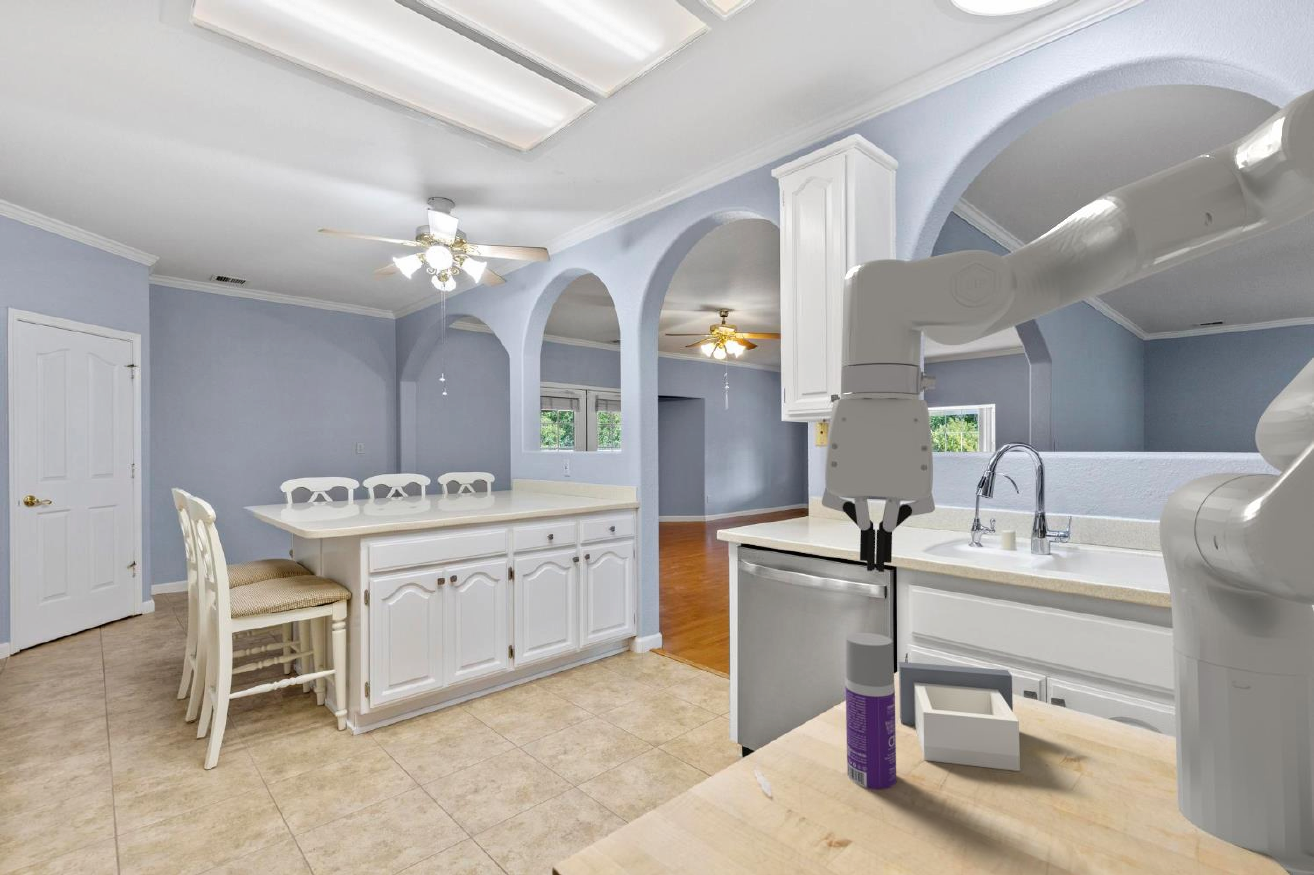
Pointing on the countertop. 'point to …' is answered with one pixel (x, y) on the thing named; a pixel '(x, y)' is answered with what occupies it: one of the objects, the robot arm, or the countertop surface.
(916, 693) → the socket block
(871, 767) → the container
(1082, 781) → the countertop surface
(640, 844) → the countertop surface
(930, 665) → the track
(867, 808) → the countertop surface
